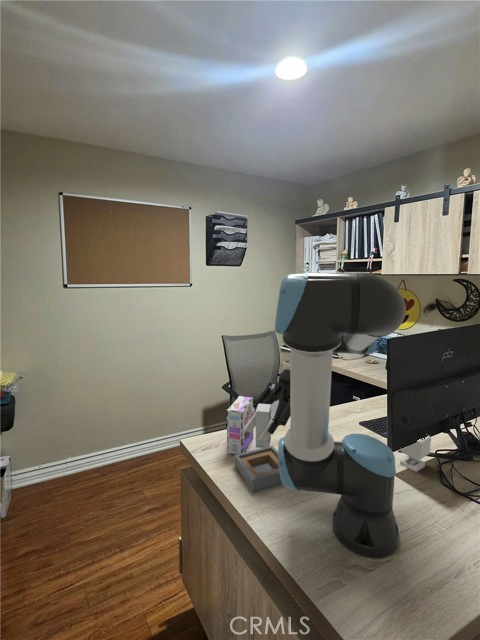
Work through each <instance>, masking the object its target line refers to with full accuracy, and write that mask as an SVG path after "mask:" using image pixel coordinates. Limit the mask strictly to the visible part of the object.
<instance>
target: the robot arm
mask: <svg viewBox="0 0 480 640" xmlns="http://www.w3.org/2000/svg"><path fill="white" fill-rule="evenodd" d="M406 305H407V304H406V302H405V300H404V297H403V295H402V294H401V292H400V291H399V289H398V288H397V287H396V286H395V285H394V284H393V283H392V282H390V281H388V280H387V279H385V278H383V277H381V276H378V275H376V274H374V273H373V274H372V273H368V272H320V273H319V272H307V271H306V272H304V273H303V272H302V273H291V274H287V275H285V276H284V277H283V278H282V279H281V281H280V287H279V291H278V299H277V306H276V307H277V308H276V313H275V314H276V315H275V323H274V324H275V325H274V331H275V333H276V334H279V335H282V342H283V343H284V345H285V346H286V347H287V348H289V349H290V350H289V351H290V355H289V358H290V360H289V361H288V363H287V364H286V366H285V369H283V371H282V372H281V373H280V375H279V376H278V381H277V382H276V383H274V384H273V383H272V382H268V384H267V386H266V388H265V389H264V390H263V391H262V393H260V395H259V397H258V398H257V399H256V400H255V402H253V414H252V416H251V417H250V420H249V422H248V423H247V425H246V426H245V428H244V429H245V430H247V431H248V432H249V433H251V432H252V430H253V431H254V429H255V428H256V409H257V406H258V404H271V405H273V404H274V403H275V402H278V405H277V407H276V411H275V413H274V417H273V418H271V420H270V422H269V423H268V425H267V426H266V428H265V429H264V431H263V432H262V434H261V435H260V437H259V440H261V441H262V442H263V443H266V442H267V440H268V439H269V437H270V435H271V436H272V435H273V434H274V433H275V432H276V430H277V429H278V427H279V426H283V427H286V425H287V423H288V421H289V419H290V428H289V429H287V431H286V433H285V434H284V437H281V438H280V439H279V440H278V447H277V449H278V450H277V451H278V460H279V473H280V478H281V481H282V485H283V486H284V487H285V488H287V489H292V490H295V491H298V492H299V491H300V492H302V491H305V492H313V493H322V494H323V493H325V494H331V495H332V494H333V495H340V498H339V500H338V503H337V504H336V508H335V510H334V511H333V514H332V530H333V532H334V535H335V536H336V538H337V539H338V540H339V542H340V543H341V544H342V545H343V546H344V547H345V548H347V550H348V549H349V550H350V551H352V552H353V553H355V554H358V555H361V556H363V557H366V558H375V559H376V558H377V559H378V558H379V559H380V558H385V557H389V556H390V555H392V554H393V553H395V552H396V550H397V549H398V547H399V543H400V542H399V541H400V531H399V527H398V524H397V521H396V516H395V513H394V510H393V503H394V492H395V491H394V490H395V475H396V474H397V473H396V472H397V471H396V470H397V469H396V456H395V454H394V452H393V450H392V449H391V448H390V446H388V445H387V444H386V443H385V442H383V441H381V440H380V439H378V438H376V437H373V436H370V435H367V434H364V433H351V434H346V435H345V436H344V437H343V439H342V440H341V441H335V440H334V437H333V436H332V434H331V433H330V432H329V425H330V424H329V422H330V407H331V393H332V392H331V389H332V372H333V356H334V355H333V354H349V355H350V354H353V355H372V354H374V353H375V352H376V348H377V340H378V339H379V338H384V337H387V336H389V335H392V333H394V332H395V331H397V330H398V329H399V328H400V327H401V325H402V324H403V322H404V321H405V318H406V311H407V310H406V309H407V308H406V307H407V306H406Z"/></svg>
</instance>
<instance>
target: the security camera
mask: <svg viewBox="0 0 480 640" xmlns="http://www.w3.org/2000/svg"><path fill="white" fill-rule="evenodd" d="M422 439H423V440H422ZM422 439H419V440H417V442H416V443H414V444H412V445H410V446H408V447H406V448H403V449H401V448H400V452H401V453H402V454H404V455H406V456H405V457H403V458H401V459H400V462H399V465H401V466H403V467H406V468H407V469H410V470H411V471H413V472H416V473H417V472H419V471H420V470H422V469H424V468H425V466H426V462H425V461H423V460H422V459H423V458H425V457H426V456H428V455H429V454H430V453H431V445H432V443H431V441H432V438H431V435H428V436H427V437H425V439H424V438H422Z"/></svg>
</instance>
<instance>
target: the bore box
mask: <svg viewBox="0 0 480 640" xmlns="http://www.w3.org/2000/svg"><path fill="white" fill-rule="evenodd" d="M234 467H235V469H236V471H237V472H238V474H239V475H240V476H241V478H242V479H243V481H244V482H245V484H246V485H247V486H248V488H249V489H250V491H251V492H252V493H256V492H260V491H263V490H266V489H270V488H273V487H276V486H279V485H281V484H282V481H281V478H280V473H279V460H278V450H277V449H276V448H275V447H274V446H273V445H269V449H265V448H258V449H257V448H256V449H254V450H249V451H245V453H241V454H237V455H234ZM282 485H283V484H282Z"/></svg>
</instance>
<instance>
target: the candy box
mask: <svg viewBox="0 0 480 640" xmlns="http://www.w3.org/2000/svg"><path fill="white" fill-rule="evenodd" d="M253 404H254V398H253V397H250V396H243V395H238V397H237V398H236V399H235V400H234V401H233V403H232V404H231V405H230V406H229V408H227V409H226V445H227V447H226V448H227V451H226V452H227V454H229V455H237V454H241V453H245V452H247V449H248V448H249V446H250V444H251V443H252V440H253V439H254V429H253V430H252V432H251V433H249V432H248V431H247V430H245V429H244V428H245V426H246V425H247V423H248V422H249V420H250V417H251V416H252V414H253V413H254V407H253Z"/></svg>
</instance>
